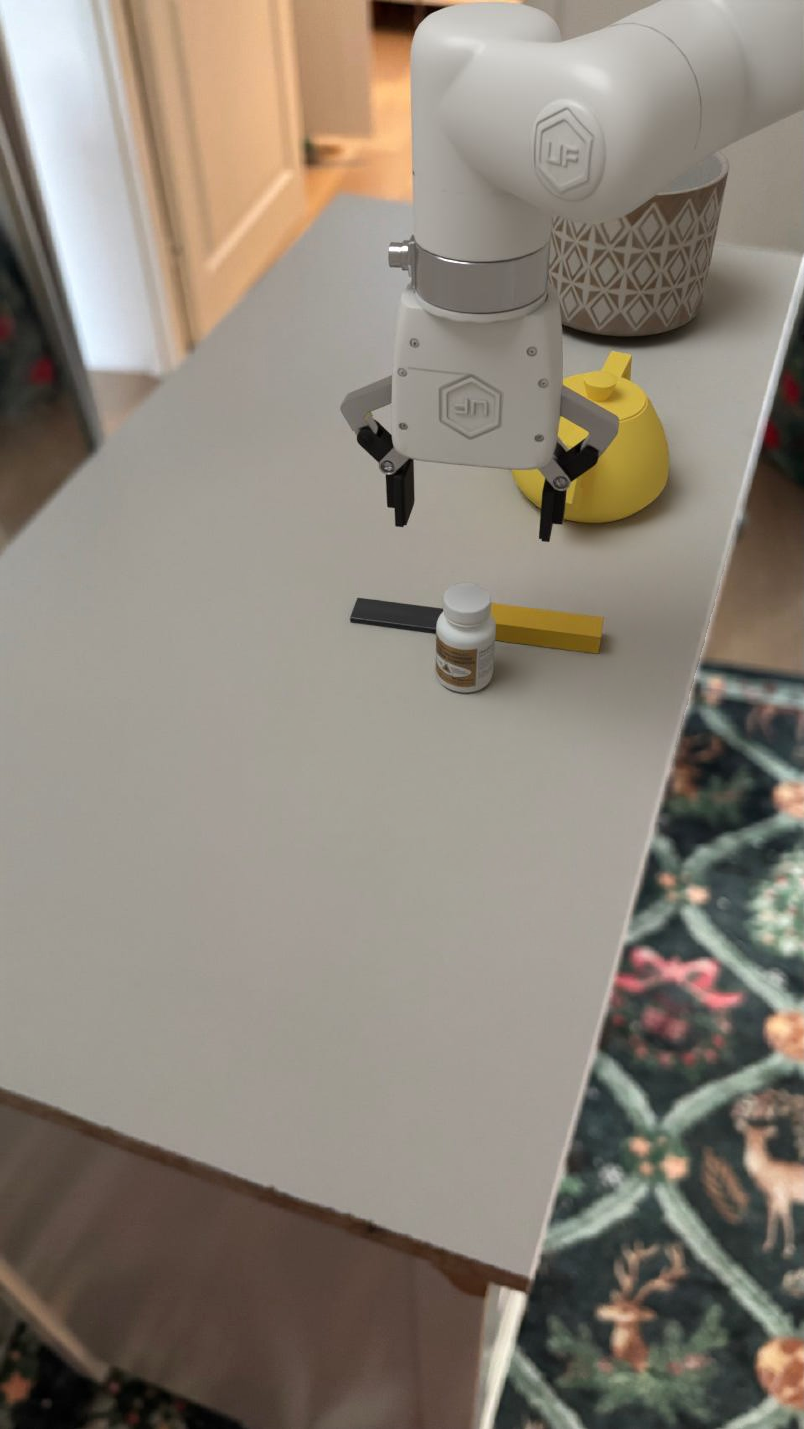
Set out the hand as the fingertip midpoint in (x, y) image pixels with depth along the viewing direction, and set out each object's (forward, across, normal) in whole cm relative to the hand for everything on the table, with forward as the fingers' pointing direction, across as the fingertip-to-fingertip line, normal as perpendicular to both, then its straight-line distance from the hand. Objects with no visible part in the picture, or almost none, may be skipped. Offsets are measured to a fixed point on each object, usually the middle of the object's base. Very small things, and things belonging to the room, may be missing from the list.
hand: (475, 522), depth 72 cm
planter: (+14, +6, +64) cm, 66 cm away
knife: (+14, -1, +6) cm, 15 cm away
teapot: (+14, +4, +28) cm, 32 cm away
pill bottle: (+15, -1, 0) cm, 15 cm away
